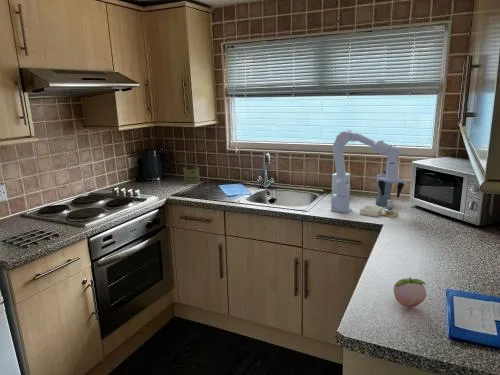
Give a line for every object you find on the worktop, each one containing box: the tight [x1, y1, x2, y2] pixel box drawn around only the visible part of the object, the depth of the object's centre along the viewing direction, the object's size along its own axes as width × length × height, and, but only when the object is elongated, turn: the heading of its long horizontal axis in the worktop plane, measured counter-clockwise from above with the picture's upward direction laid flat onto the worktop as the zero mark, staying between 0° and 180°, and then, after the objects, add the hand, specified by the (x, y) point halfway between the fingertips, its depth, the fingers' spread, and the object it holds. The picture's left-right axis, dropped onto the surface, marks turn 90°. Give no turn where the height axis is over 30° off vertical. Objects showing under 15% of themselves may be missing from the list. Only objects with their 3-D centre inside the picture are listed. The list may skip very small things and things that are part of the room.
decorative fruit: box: [393, 276, 427, 309], centre depth 117 cm, size 9×8×10 cm
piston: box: [183, 166, 201, 185], centre depth 286 cm, size 11×12×11 cm
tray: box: [359, 204, 384, 218], centre depth 207 cm, size 9×9×3 cm
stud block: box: [379, 210, 399, 219], centre depth 203 cm, size 7×7×2 cm
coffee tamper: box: [384, 198, 395, 213], centre depth 202 cm, size 4×4×6 cm
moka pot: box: [375, 170, 393, 208], centre depth 220 cm, size 10×15×20 cm, turn 158°
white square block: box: [331, 172, 351, 196], centre depth 238 cm, size 9×9×15 cm
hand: (390, 196), depth 201 cm, fingers open, 7 cm apart
